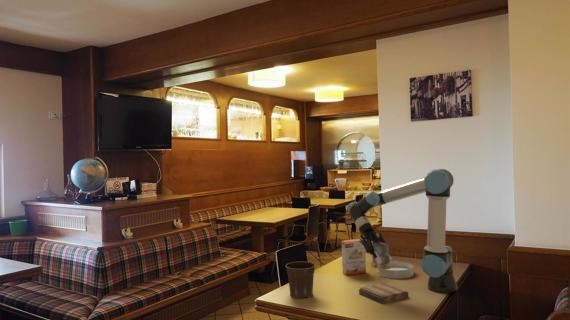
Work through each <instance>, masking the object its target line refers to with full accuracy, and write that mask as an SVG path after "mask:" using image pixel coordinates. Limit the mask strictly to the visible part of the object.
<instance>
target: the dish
mask: <svg viewBox="0 0 570 320" xmlns="http://www.w3.org/2000/svg"><path fill="white" fill-rule="evenodd" d="M390 263H391V268H390V269H385V270H378V268H376V271H377V273H376V274H377V275H378V276H380V277H383V278H388V279H407V278H410V277H413V276H414V274H415V271H414V265H413V264H411V263H408V262H405V261H391V262H390Z"/></svg>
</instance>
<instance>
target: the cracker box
mask: <svg viewBox="0 0 570 320" xmlns="http://www.w3.org/2000/svg"><path fill="white" fill-rule="evenodd" d="M341 260H342V273H343V274H344V275H345V276H349V275H358V274H366V273H367V263H366V262H367V258H366V250H365V247H364V245H363V243H362V241H361V240H360V239H359V238H357V239H347V240H341Z"/></svg>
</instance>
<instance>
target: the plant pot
mask: <svg viewBox="0 0 570 320" xmlns="http://www.w3.org/2000/svg"><path fill="white" fill-rule="evenodd" d="M315 267H316V264H315V263H314V262H310V261H292V262H288V263H286V264H285V268H286V273H287V277H288V286H289V287H288V288H289V295H290V296H291V297H293V298H295V299H304V298H310V297H312V296H313V293H314V274H315Z"/></svg>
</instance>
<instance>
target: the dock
mask: <svg viewBox="0 0 570 320" xmlns="http://www.w3.org/2000/svg"><path fill="white" fill-rule="evenodd" d="M358 294H359V295H361V296H364V297H366V298H368V299H371V300H372V301H375V302H377V303H378V304H379V303H380V304H385V303H386V304H387V303H388V302H393V301H398V300H402V299H405V298H409V292H408V290H404V289H402V288H399V287H396V286H393V285H391V284H388V283H385V282H381V283H376V284H371V285H367V286H362V287H360V288H359V289H358Z"/></svg>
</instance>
